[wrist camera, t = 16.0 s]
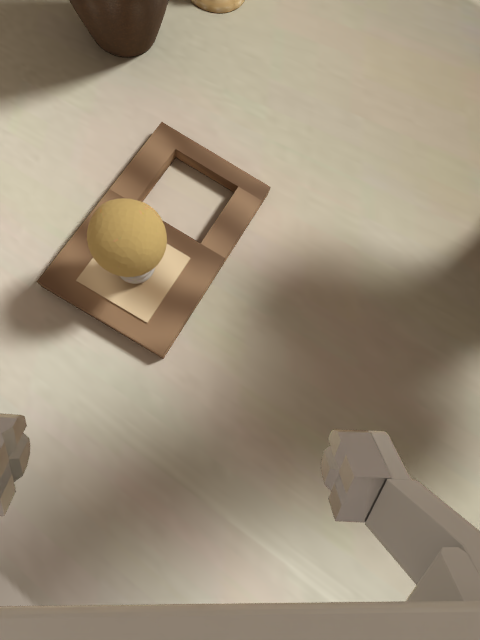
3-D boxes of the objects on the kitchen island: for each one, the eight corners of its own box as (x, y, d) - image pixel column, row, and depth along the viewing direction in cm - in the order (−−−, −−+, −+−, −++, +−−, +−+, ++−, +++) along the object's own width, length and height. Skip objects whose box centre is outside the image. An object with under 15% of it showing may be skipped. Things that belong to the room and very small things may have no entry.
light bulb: (172, 242, 42) (170, 189, 32) (165, 301, 40) (161, 265, 30) (107, 234, 41) (85, 177, 31) (98, 295, 39) (72, 255, 30)
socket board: (162, 131, 46) (161, 120, 45) (267, 194, 46) (271, 186, 45) (42, 286, 40) (36, 280, 39) (163, 358, 40) (162, 356, 39)
